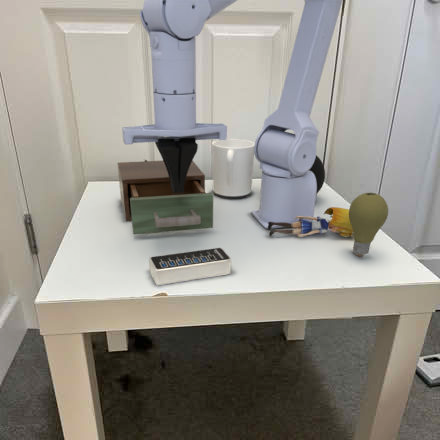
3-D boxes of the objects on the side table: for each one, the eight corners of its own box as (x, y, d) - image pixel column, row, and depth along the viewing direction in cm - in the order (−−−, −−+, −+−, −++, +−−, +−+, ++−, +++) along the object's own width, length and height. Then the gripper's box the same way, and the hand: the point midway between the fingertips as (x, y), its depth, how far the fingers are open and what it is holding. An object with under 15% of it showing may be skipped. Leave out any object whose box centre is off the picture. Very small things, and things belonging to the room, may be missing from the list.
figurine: (269, 245, 76) (357, 241, 77) (272, 220, 73) (364, 215, 73) (266, 229, 80) (350, 225, 80) (268, 203, 76) (356, 200, 76)
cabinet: (204, 215, 85) (205, 175, 81) (125, 221, 81) (122, 179, 78) (192, 195, 94) (191, 159, 91) (121, 200, 91) (117, 162, 87)
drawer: (220, 238, 73) (220, 204, 70) (136, 246, 70) (133, 210, 67) (199, 207, 86) (199, 177, 83) (127, 212, 83) (125, 181, 80)
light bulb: (358, 266, 68) (371, 201, 63) (334, 251, 72) (344, 190, 67) (386, 259, 70) (400, 196, 65) (360, 245, 74) (372, 185, 69)
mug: (214, 185, 101) (215, 137, 96) (254, 188, 100) (257, 139, 95) (206, 201, 92) (206, 149, 86) (250, 204, 91) (253, 151, 85)
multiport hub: (149, 271, 65) (148, 256, 64) (221, 260, 68) (221, 246, 67) (156, 285, 61) (155, 270, 60) (231, 273, 65) (232, 259, 64)
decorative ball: (325, 208, 89) (332, 157, 84) (274, 207, 89) (278, 155, 84) (317, 193, 98) (323, 145, 93) (271, 191, 98) (274, 144, 93)
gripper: (217, 87, 66) (215, 180, 73) (116, 89, 62) (124, 186, 69) (233, 94, 60) (229, 193, 67) (123, 96, 56) (131, 201, 63)
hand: (177, 191), depth 68 cm, fingers closed
